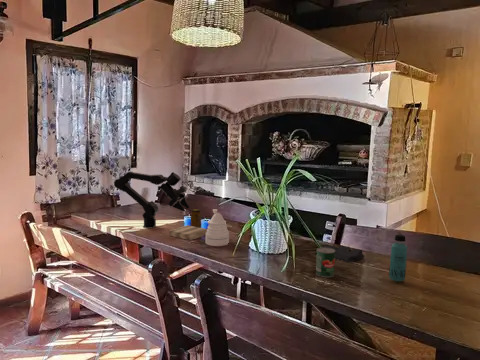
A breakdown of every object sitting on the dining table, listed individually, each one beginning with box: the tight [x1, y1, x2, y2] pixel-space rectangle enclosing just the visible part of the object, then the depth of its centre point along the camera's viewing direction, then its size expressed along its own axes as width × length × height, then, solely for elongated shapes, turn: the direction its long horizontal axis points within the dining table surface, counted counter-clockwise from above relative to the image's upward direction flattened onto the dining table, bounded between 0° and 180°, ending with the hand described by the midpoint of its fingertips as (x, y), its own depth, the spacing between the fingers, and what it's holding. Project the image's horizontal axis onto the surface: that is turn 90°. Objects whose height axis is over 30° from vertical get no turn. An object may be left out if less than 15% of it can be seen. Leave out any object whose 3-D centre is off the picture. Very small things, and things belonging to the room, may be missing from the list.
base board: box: [169, 224, 208, 241], centre depth 243 cm, size 16×16×3 cm
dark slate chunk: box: [315, 244, 365, 263], centre depth 210 cm, size 15×22×5 cm
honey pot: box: [205, 209, 230, 247], centre depth 227 cm, size 13×13×18 cm
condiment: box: [190, 208, 202, 228], centre depth 256 cm, size 7×8×12 cm
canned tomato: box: [315, 246, 336, 278], centre depth 181 cm, size 8×8×11 cm
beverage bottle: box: [388, 234, 409, 282], centre depth 173 cm, size 6×7×20 cm
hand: (186, 209), depth 256 cm, fingers open, 9 cm apart
